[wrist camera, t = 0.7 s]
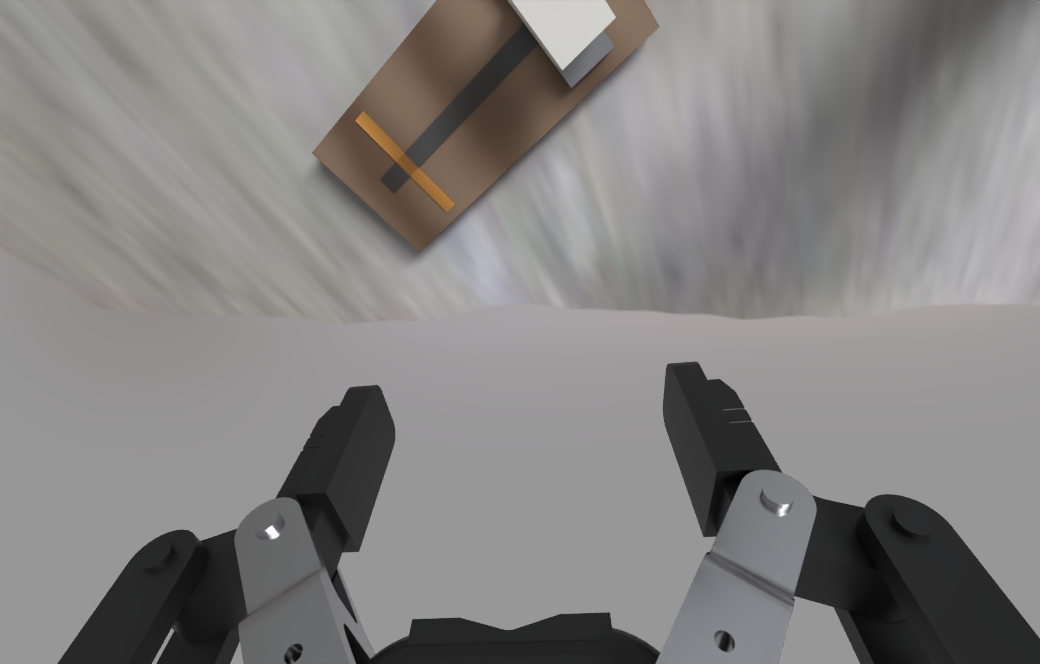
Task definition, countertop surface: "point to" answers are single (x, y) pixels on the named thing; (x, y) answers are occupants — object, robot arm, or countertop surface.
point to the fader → (568, 32)
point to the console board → (459, 110)
